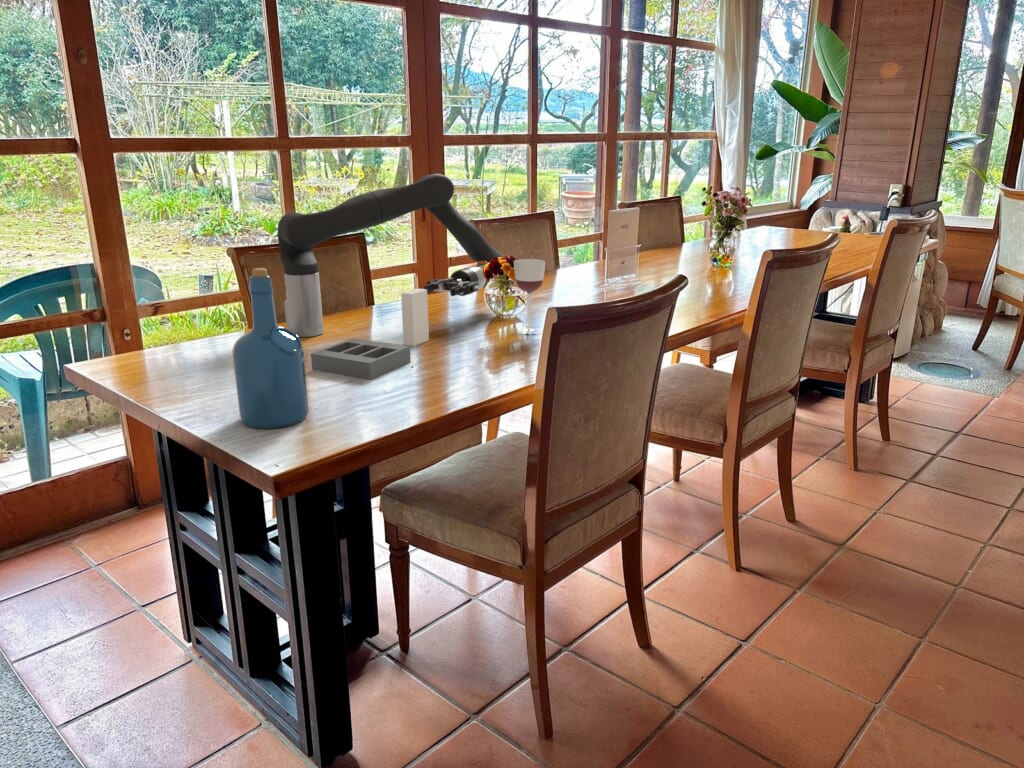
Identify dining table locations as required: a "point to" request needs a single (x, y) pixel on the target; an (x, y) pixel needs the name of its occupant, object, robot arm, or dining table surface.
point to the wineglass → (529, 279)
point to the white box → (415, 317)
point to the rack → (361, 358)
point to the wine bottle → (269, 365)
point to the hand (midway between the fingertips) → (438, 291)
